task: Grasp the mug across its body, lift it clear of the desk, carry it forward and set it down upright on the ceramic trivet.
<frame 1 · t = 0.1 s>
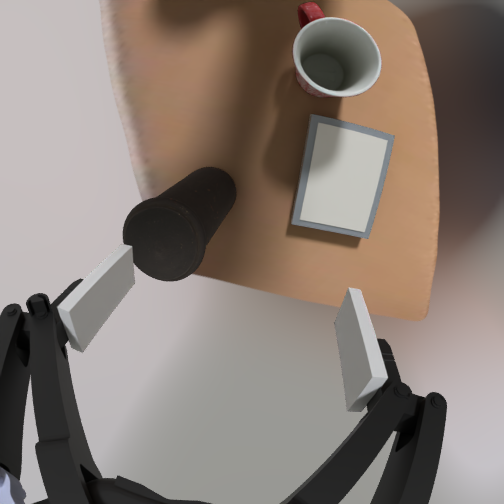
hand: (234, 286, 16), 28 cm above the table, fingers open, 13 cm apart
trivet: (340, 175, 39), on the table
container: (210, 191, 43), on the table
mug: (317, 64, 32), on the table
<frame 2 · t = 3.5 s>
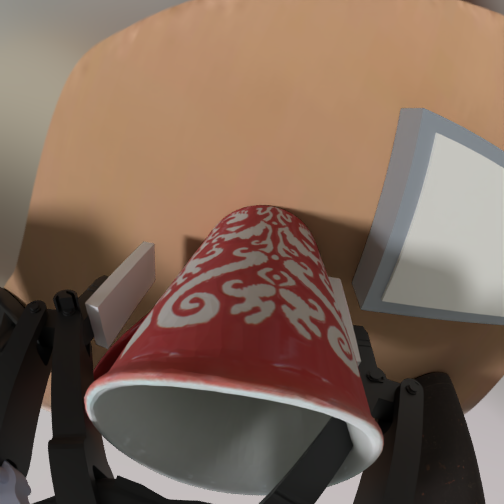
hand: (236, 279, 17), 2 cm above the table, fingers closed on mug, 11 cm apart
trivet: (468, 228, 16), on the table
container: (418, 393, 24), on the table
mug: (237, 260, 19), on the table, touching gripper
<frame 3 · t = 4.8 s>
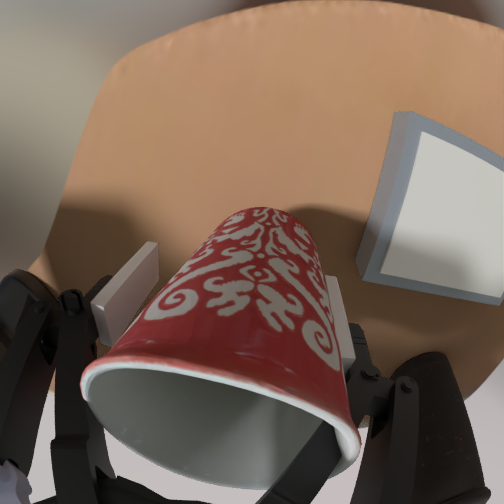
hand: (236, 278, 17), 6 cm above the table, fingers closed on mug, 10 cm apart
trivet: (457, 215, 18), on the table
container: (417, 373, 27), on the table
mug: (240, 262, 19), point 3 cm above the table, touching gripper
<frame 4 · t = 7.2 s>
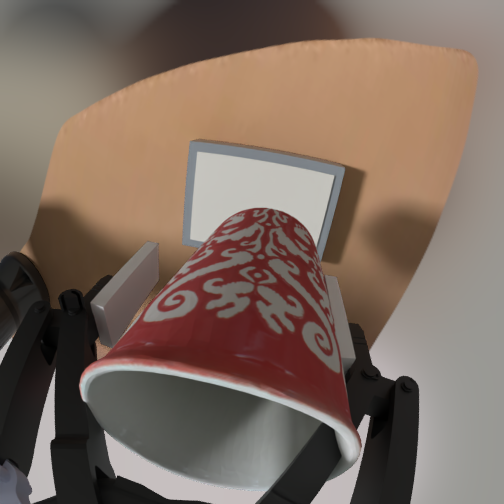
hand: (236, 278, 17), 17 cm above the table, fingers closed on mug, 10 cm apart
trivet: (260, 199, 32), on the table
mug: (240, 262, 19), point 14 cm above the table, touching gripper
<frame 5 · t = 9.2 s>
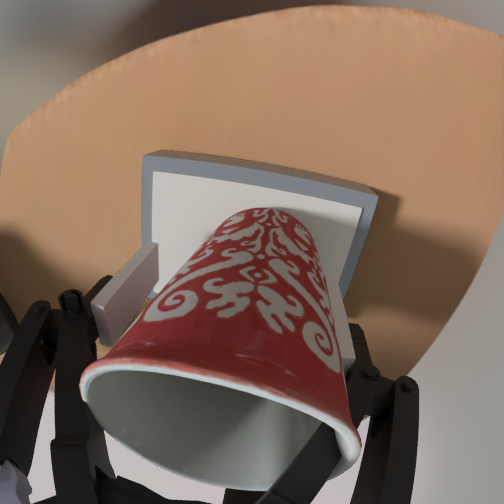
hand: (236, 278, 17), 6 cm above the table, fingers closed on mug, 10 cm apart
trivet: (250, 236, 22), on the table
container: (276, 387, 31), on the table
mug: (240, 262, 19), point 4 cm above the table, touching gripper
when the fingers open (6 cm above the table, at t = 9.9 s): mug stays where it is, resting on trivet.
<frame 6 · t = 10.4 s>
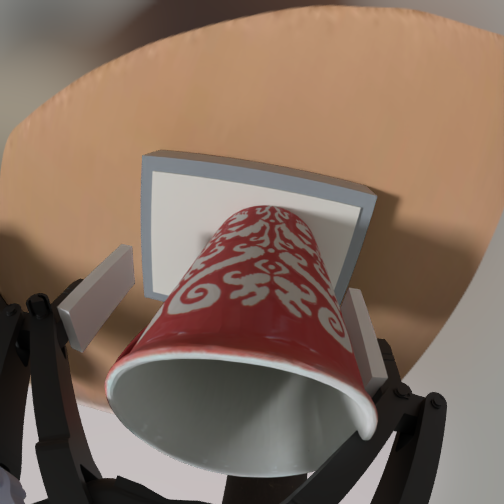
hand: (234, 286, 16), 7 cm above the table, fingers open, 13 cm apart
trivet: (249, 236, 23), on the table
container: (275, 386, 31), on the table
mug: (242, 259, 20), point 3 cm above the table, touching trivet
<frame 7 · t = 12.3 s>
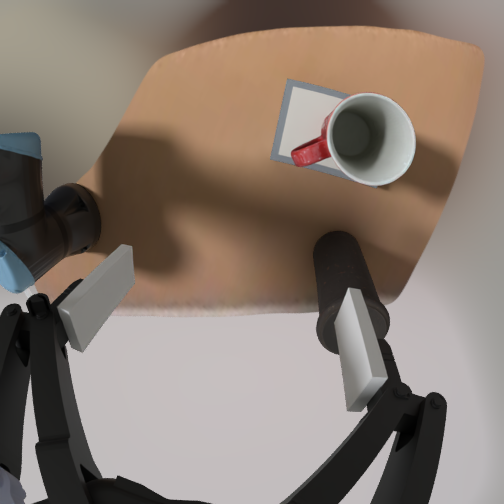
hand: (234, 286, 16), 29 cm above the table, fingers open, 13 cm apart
trivet: (332, 132, 37), on the table
container: (336, 252, 46), on the table
mug: (334, 135, 35), point 3 cm above the table, touching trivet
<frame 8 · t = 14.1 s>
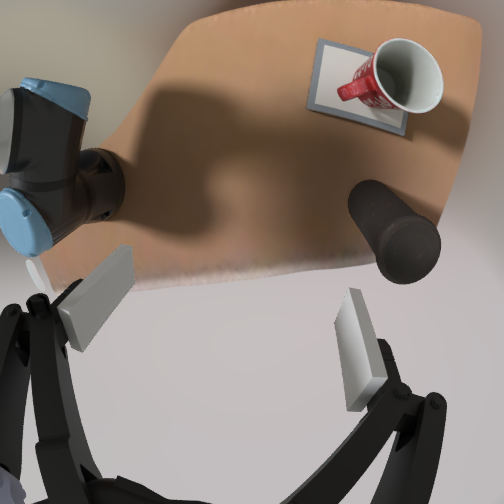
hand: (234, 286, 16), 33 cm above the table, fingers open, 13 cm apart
trivet: (359, 87, 36), on the table
container: (368, 202, 45), on the table
mug: (364, 88, 34), point 3 cm above the table, touching trivet
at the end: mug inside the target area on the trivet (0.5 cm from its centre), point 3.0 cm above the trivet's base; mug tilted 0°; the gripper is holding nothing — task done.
